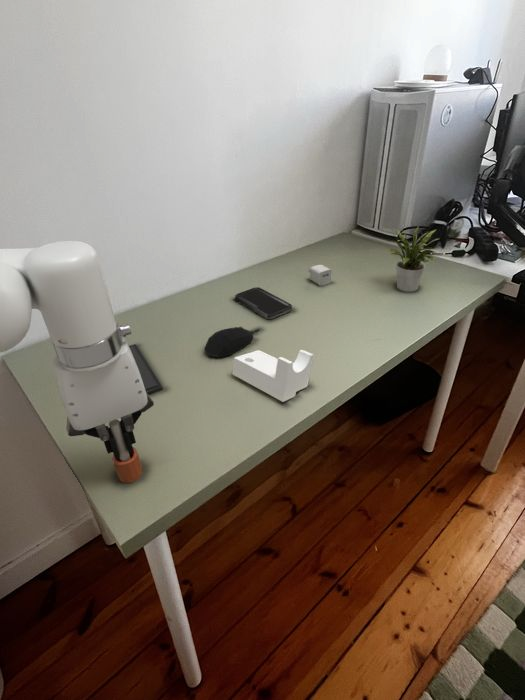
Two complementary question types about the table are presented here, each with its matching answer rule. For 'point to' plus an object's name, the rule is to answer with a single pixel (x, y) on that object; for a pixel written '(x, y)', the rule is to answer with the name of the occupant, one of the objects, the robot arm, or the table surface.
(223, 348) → the gaming mouse
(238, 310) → the table surface
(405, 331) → the table surface
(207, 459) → the table surface
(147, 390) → the tablet
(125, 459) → the stylus
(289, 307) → the phone
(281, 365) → the bracket
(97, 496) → the table surface
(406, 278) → the house plant
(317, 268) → the usb wall charger
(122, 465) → the pen holder
